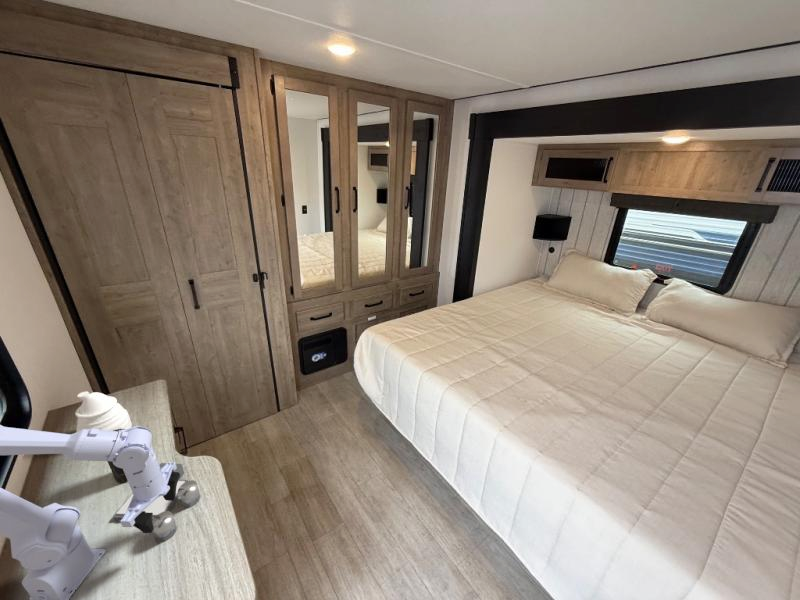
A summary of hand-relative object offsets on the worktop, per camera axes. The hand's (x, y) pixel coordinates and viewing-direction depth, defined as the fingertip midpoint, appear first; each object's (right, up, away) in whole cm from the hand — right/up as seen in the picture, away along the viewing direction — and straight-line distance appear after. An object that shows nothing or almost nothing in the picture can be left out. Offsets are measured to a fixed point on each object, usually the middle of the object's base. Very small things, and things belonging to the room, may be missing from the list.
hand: (159, 514), depth 76 cm
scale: (-9, -2, +11) cm, 15 cm away
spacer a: (0, -7, +3) cm, 7 cm away
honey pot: (-41, +7, +30) cm, 52 cm away
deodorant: (-22, 0, +17) cm, 28 cm away
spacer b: (+1, -3, +10) cm, 11 cm away
